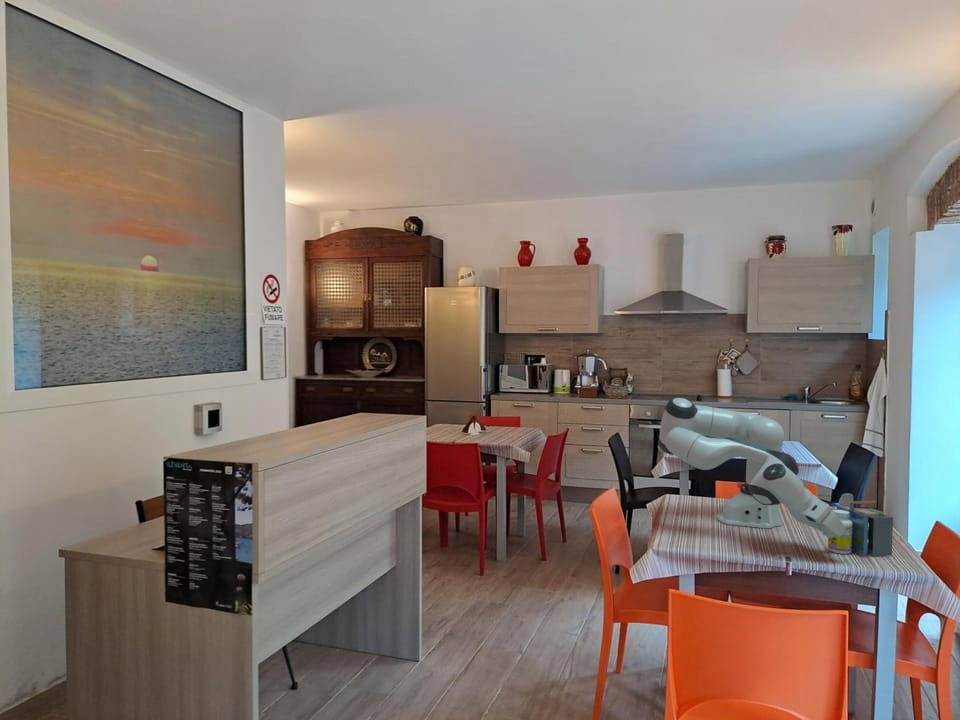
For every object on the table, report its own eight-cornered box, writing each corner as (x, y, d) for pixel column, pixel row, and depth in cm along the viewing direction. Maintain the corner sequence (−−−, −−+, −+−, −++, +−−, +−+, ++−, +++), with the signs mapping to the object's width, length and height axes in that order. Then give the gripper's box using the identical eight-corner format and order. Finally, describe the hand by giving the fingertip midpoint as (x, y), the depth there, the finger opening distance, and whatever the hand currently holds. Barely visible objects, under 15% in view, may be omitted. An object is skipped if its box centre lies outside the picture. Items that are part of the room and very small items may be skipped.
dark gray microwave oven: (872, 556, 211) (873, 515, 210) (844, 545, 222) (845, 506, 222) (891, 555, 212) (893, 515, 212) (862, 544, 224) (863, 505, 223)
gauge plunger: (863, 553, 210) (865, 506, 210) (835, 542, 222) (837, 497, 221) (891, 552, 212) (893, 505, 212) (862, 541, 224) (863, 496, 223)
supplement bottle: (824, 547, 219) (825, 508, 219) (845, 548, 218) (846, 509, 218) (833, 554, 212) (835, 513, 212) (855, 555, 212) (856, 514, 211)
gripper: (776, 505, 222) (801, 533, 224) (819, 521, 202) (847, 552, 204) (788, 491, 222) (814, 520, 225) (833, 506, 202) (860, 537, 205)
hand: (830, 535), depth 214 cm, fingers closed, pressing on supplement bottle
